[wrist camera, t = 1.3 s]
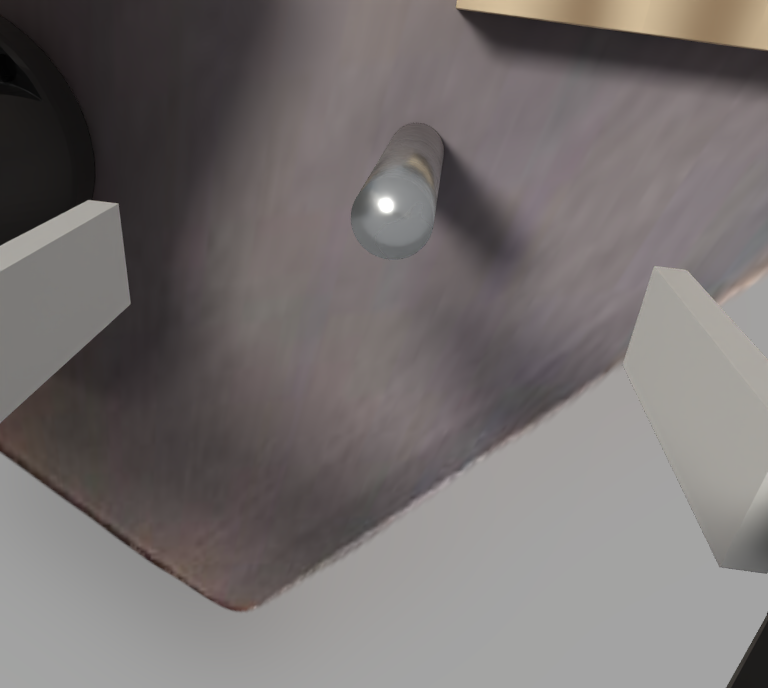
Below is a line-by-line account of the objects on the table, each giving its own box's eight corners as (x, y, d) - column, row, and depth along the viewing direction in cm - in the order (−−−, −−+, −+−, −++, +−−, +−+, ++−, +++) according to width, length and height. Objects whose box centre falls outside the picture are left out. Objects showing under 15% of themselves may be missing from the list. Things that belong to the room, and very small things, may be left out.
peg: (385, 175, 34) (347, 253, 23) (392, 118, 33) (354, 172, 22) (439, 183, 34) (426, 265, 23) (448, 127, 33) (440, 184, 21)
